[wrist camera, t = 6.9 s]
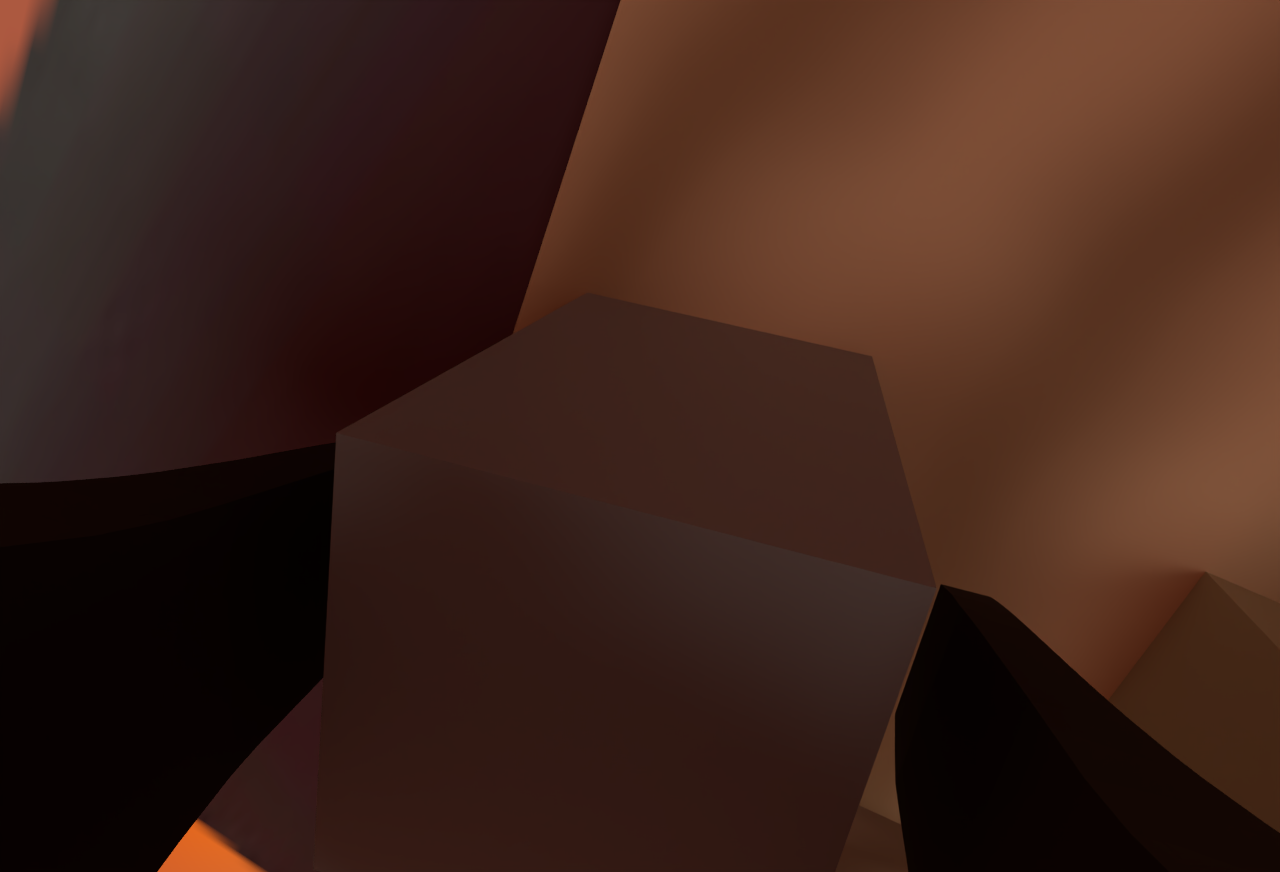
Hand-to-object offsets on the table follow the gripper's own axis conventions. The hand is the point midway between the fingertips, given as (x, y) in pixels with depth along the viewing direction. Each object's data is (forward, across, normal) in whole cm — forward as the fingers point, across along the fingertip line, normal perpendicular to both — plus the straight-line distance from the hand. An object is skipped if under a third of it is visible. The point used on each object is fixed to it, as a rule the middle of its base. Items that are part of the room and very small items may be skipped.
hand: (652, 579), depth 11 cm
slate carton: (+4, 0, 0) cm, 4 cm away
